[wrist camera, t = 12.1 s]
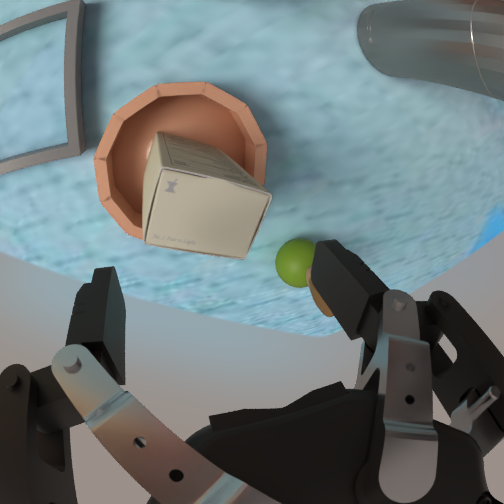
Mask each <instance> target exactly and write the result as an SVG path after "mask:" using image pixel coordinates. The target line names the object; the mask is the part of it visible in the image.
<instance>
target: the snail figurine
mask: <svg viewBox="0 0 504 504" xmlns="http://www.w3.org/2000/svg"><path fill="white" fill-rule="evenodd" d="M315 247H316V244H315V243H313V242H311V241H309V240H307V239H293V240H290V241H288V242H287V243H285V244H284V245H283V246H282V247H281V248H280V250H279V251H278V253H277V256H276V262H275V264H276V270H277V273H278V275H279V277H280V278H281V279H282V280H283V281H284V282H285V283H286V284H288V285H290V286H293V287H297V288H302V287H307V286H309V288H310V291H311V294H312V297H313V299H314V302H315V303H316V305H317V307H318V308H319V309H320V310H321V312H322V313H323V314H324V315H326V316H327V317H332V316H334V315H333V313H332V312H331V310H330V309H329V307H328V306H327V305H326V303H325V302H324V300H323V299H322V297H321V296H320V294H319V293H318V292H317V290H316V289H315V287H314V286H313V284H312V281H311V268H312V263H313V258H314V252H315Z"/></svg>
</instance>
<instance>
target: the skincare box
mask: <svg viewBox="0 0 504 504" xmlns="http://www.w3.org/2000/svg"><path fill="white" fill-rule="evenodd" d="M271 200H272V195H271V193H270V192H269V191H267V190H266V189H265V188H264V187H263V186H262V185H261V184H260V183H259V182H257V181H256V180H255V179H254V178H253V177H252V176H251V175H250V174H248V173H247V172H246V171H245V170H244V169H243V168H242V167H241V166H239V165H238V164H237V163H236V162H235V161H234V160H233V159H231V158H230V157H229V156H228V155H227V154H226V153H224V152H223V151H222V150H221V149H220V148H217V147H214V146H211V145H208V144H205V143H202V142H198V141H195V140H191V139H187V138H184V137H180V136H176V135H172V134H167V133H163V132H156V134H155V137H154V140H153V143H152V146H151V149H150V152H149V156H148V159H147V163H146V167H145V171H144V179H143V207H142V226H143V242H144V244H147V245H152V246H156V247H161V248H167V249H173V250H179V251H185V252H190V253H198V254H203V255H211V256H217V257H225V258H232V259H241V260H244V259H246V257H247V255H248V253H249V250H250V248H251V246H252V244H253V242H254V239H255V237H256V235H257V233H258V231H259V228H260V226H261V224H262V221H263V219H264V217H265V214H266V212H267V210H268V207H269V205H270V203H271Z"/></svg>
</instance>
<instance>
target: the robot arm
mask: <svg viewBox="0 0 504 504" xmlns="http://www.w3.org/2000/svg"><path fill="white" fill-rule="evenodd" d="M357 32H358V39H359V44H360V46H361V49H362V51H363V53H364V55H365V57H366V58H367V60H368V61H369V62H370V63H371V65H372V66H373V67H375V68H376V69H377V70H378V71H380V72H382V73H383V74H386V75H389V76H397V77H404V78H411V79H416V80H422V81H428V82H433V83H438V84H443V85H447V86H452V87H456V88H460V89H464V90H468V91H472V92H475V93H479V94H482V95H486V96H489V97H492V98H495V99H499V100H502V101H504V0H399V1H391V2H384V3H378V4H373V5H370V6H368V7H367V8H366V9H364V11H363V12H362V13H361V15H360V17H359V20H358V26H357ZM311 281H312V284H313V286H314V287H315V289H316V290H317V292H318V293H319V294H320V296H321V297H322V299H323V300H324V302H325V303H326V305H327V306H328V307H329V309H330V310H331V312H332V313H333V315H334V316H335V318H336V319H337V320H338V322H339V323H340V325H341V326H342V328H343V329H344V331H345V332H346V334H347V335H348V337H349V338H350V339H351V340H354V339H357V338H360V337H362V338H363V339H364V341H363V343H362V346H361V353H360V361H359V368H358V375H357V381H356V384H355V388H354V389H345V387H344V385H343V384H342V382H341V381H340V382H337V383H334V384H331V385H328V386H325V387H322V388H319V389H316V390H313V391H311V392H309V393H308V394H306V395H304V396H303V397H301V398H300V399H298V400H296V401H294V402H293V403H291V404H289V405H288V406H286V407H283V408H277V409H276V408H275V409H242V410H238V411H233V412H228V413H223V414H217V415H212V416H209V420H210V425H209V426H206V427H204V428H202V429H201V430H199V431H197V432H195V433H194V434H193V435H191V436H190V437H189V438H188V439H187V440H186V441H185V442H184V441H183V440H182V439H180V438H179V437H178V436H177V435H175V434H174V433H173V432H172V431H171V430H170V429H169V428H167V427H166V426H165V425H164V424H163V423H162V422H161V421H159V420H158V419H157V418H156V417H155V416H154V415H153V414H152V413H151V412H150V411H149V410H148V409H147V408H145V407H144V406H143V405H142V404H141V403H140V402H139V401H138V400H137V399H136V398H135V397H134V396H133V395H132V394H131V393H130V392H128V391H126V392H125V391H124V390H123V389H122V388H121V387H120V386H119V385H125V320H126V309H125V302H124V298H123V294H122V291H121V287H120V284H119V280H118V276H117V273H116V269H115V267H114V266H112V267H104V268H96V269H95V270H94V273H93V278H92V282H91V283H85V284H83V286H82V287H81V288H80V290H79V291H78V292H77V294H76V298H75V302H74V307H73V311H72V315H71V320H70V325H69V330H68V334H67V340H66V345H65V347H63V348H62V349H60V350H59V351H58V352H57V353H56V354H55V356H54V358H53V360H52V364H51V365H50V366H48V367H45V368H42V369H40V370H37V371H34V372H31V373H30V372H29V371H28V370H27V368H26V367H25V366H23V365H20V364H13V365H11V366H8V367H7V368H6V369H5V370H4V371H3V372H2V373H1V375H0V504H78V503H77V497H76V491H75V485H74V477H73V469H72V459H71V446H70V427H72V426H75V425H78V424H81V423H84V422H86V425H87V426H88V428H89V429H90V430H91V432H92V433H93V434H94V435H95V437H96V438H97V439H98V440H99V441H100V443H101V444H102V445H103V446H104V447H105V449H106V450H107V451H108V452H109V453H110V454H111V455H112V456H113V458H114V459H115V460H116V461H117V462H118V463H119V464H120V465H121V466H122V467H123V468H124V469H125V470H126V471H127V472H128V473H129V474H130V475H131V476H132V477H133V478H134V479H135V480H136V481H137V482H138V483H139V484H140V485H141V486H142V487H143V488H144V489H145V490H146V491H147V492H148V493H149V494H151V497H150V499H149V500H148V502H147V504H503V503H501V502H500V501H498V500H496V499H495V498H494V497H493V496H492V495H491V494H490V492H489V490H488V487H487V483H486V479H485V473H484V461H483V457H484V456H485V455H486V454H487V453H489V452H490V450H492V449H493V448H494V447H495V446H496V445H497V444H498V443H499V442H500V441H502V440H503V439H504V357H503V355H502V354H501V353H500V352H499V350H498V349H497V348H496V346H495V345H494V344H493V343H492V341H491V340H490V339H489V338H488V336H487V335H486V334H485V333H484V332H483V330H482V329H481V328H480V327H479V326H478V324H477V323H476V322H475V321H474V320H473V319H472V317H471V316H470V315H469V314H468V313H467V312H466V311H465V309H464V308H463V307H462V306H461V305H460V304H459V303H458V302H457V301H456V300H455V299H454V298H453V297H452V296H451V295H450V294H448V293H446V292H444V291H434V292H432V294H431V295H430V297H429V299H428V301H415V300H414V299H413V298H412V297H411V296H410V295H409V294H407V293H406V292H403V291H400V290H390V289H389V288H388V287H387V286H386V285H385V284H384V283H383V282H382V281H381V280H380V279H379V277H378V276H377V275H376V274H375V273H374V272H373V271H372V270H370V268H369V267H368V266H367V265H366V264H364V262H363V261H362V260H361V259H360V258H359V257H358V256H357V255H356V254H354V253H352V252H351V251H349V250H346V249H345V248H344V247H343V246H342V245H341V244H340V243H339V242H338V241H337V240H335V239H334V240H326V241H319V242H317V244H316V247H315V252H314V258H313V263H312V268H311ZM443 334H445V335H446V337H447V338H448V339H449V341H450V342H451V343H452V345H453V346H454V347H455V349H456V351H457V359H456V361H455V362H454V364H453V363H452V361H451V360H450V358H449V357H448V356H447V354H446V353H445V352H444V350H443V349H442V347H441V346H440V345H439V343H438V342H439V341H440V339H441V337H442V336H443ZM432 389H433V391H434V392H435V394H436V395H437V397H438V399H439V401H440V402H441V404H442V405H443V407H444V409H445V410H446V412H447V414H448V415H449V417H450V418H451V424H450V425H446V424H444V423H441V422H439V421H436V420H433V392H432Z"/></svg>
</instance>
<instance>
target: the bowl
mask: <svg viewBox="0 0 504 504" xmlns="http://www.w3.org/2000/svg"><path fill="white" fill-rule="evenodd" d="M156 132H163V133H167V134H172V135H176V136H180V137H184V138H187V139H191V140H195V141H198V142H202V143H205V144H208V145H211V146H214V147H217V148H220V149H221V150H222V151H223V152H224V153H226V154H227V155H228V156H229V157H230V158H231V159H233V160H234V161H235V162H236V163H237V164H238V165H239V166H241V167H242V168H243V169H244V170H245V171H246V172H247V173H248V174H250V175H251V176H252V177H253V178H254V179H255V180H256V181H257V182H259V183H260V184H261V185H262V186H263V185H264V184H265V170H266V155H267V144H266V143H267V142H266V140H265V138H264V136H263V134H262V132H261V130H260V128H259V126H258V124H257V122H256V121H255V119H254V117H253V115H252V113H251V111H250V109H249V107H248V106H247V105H246V104H245V103H243V102H242V101H240V100H238V99H236V98H235V97H233V96H231V95H230V94H228V93H226V92H224V91H222V90H221V89H219V88H217V87H215V86H213V85H212V84H210V83H208V82H182V83H166V84H157V87H156V86H155V85H154V86H152V87H151V88H149V89H148V90H146V91H145V92H143V93H142V94H140V95H139V96H137V97H136V98H134V99H133V100H131V101H130V102H128V103H127V104H126V105H124V106H123V107H121V108H120V109H119V110H117V111H116V112H115V113H114V114H113V115H112V117H111V119H110V122H109V124H108V126H107V128H106V130H105V132H104V135H103V137H102V139H101V141H100V144H99V146H98V148H97V151H96V153H95V156H94V157H95V158H94V166H95V174H96V181H97V187H98V194H99V200H100V201H101V204H102V205H103V207H104V208H105V209H106V210H107V211H108V213H109V214H110V215H111V216H112V217H113V218H114V220H115V221H116V222H117V223H118V224H119V226H120V227H121V228H122V229H123V230H124V231H125V232H126V234H127V233H128V235H130V236H133V237H136V238H139V239H142V240H143V226H142V207H143V179H144V171H145V167H146V163H147V159H148V156H149V152H150V149H151V146H152V143H153V140H154V137H155V134H156ZM263 187H264V186H263Z"/></svg>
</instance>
